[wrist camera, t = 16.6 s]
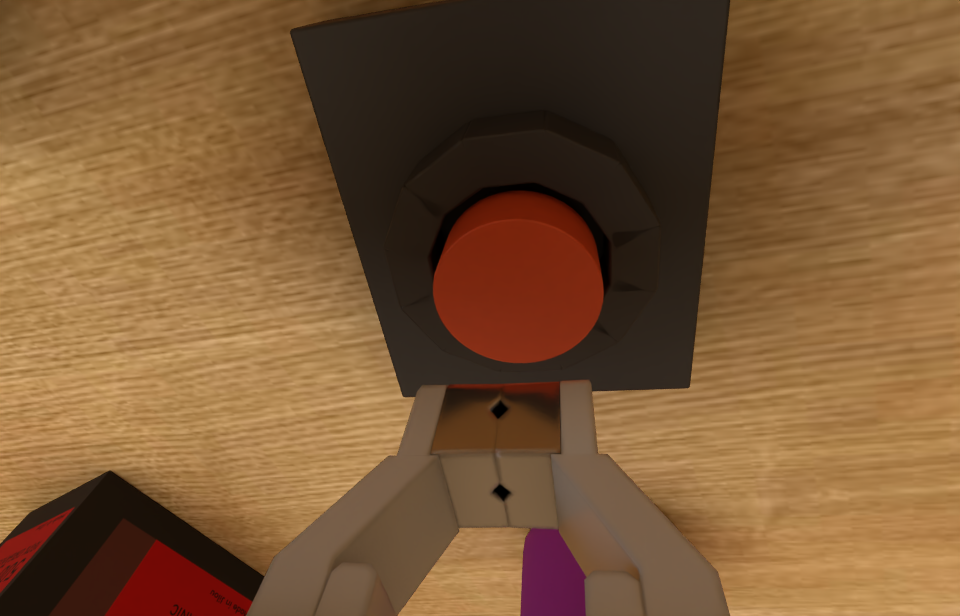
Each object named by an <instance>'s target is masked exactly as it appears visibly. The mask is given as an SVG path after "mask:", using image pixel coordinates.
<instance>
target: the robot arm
mask: <svg viewBox="0 0 960 616" xmlns="http://www.w3.org/2000/svg"><path fill="white" fill-rule="evenodd" d="M489 527H512V528H534V529H557V530H559V533H560V535H561V536H562V538H563V540H564V541H565V543H566V544H567V546H568V548H569V549H570V551H571V553H572V554H573V556H574V558H575V559H576V561H577V563H578V564H579V566H580V567H581V569H582V571H583V572H584V574H585V576H586V577H587V578H586V579H585V580H584V583H585V608H586V616H730V613H729V610H728V606H727V603H726V599H725V596H724V592H723V588H722V585H721V581H720V578H719V574H718V571H717V570H716V569H715V568H714V567H713V566H712V565H711V564H710V563H709V562H708V561H707V560H706V559H705V558H704V557H703V555H702V554H701V553H700V552H699V551H698V550H697V549H696V548H695V547H694V546H693V545H692V544H691V543H690V542H689V541H688V539H687V538H686V537H685V536H684V535H683V534H682V533H681V532H680V531H679V530H678V529H677V528H676V527H675V526H674V525H673V523H672V522H671V521H670V520H669V519H668V518H667V517H666V516H665V515H664V514H663V513H662V512H661V511H660V510H659V509H658V507H657V506H656V505H655V504H654V503H653V502H652V501H651V500H650V499H649V498H648V497H647V496H646V495H645V494H644V492H643V491H642V490H641V489H640V488H639V487H638V486H637V485H636V484H635V483H634V482H633V481H632V480H631V479H630V478H629V476H628V475H627V474H626V473H625V472H624V471H623V470H622V469H621V468H620V467H619V466H618V465H617V464H616V463H615V462H614V460H613V459H612V458H611V457H610V456H609V455H608V454H598V448H597V438H596V428H595V418H594V408H593V398H592V388H591V382H590V381H589V380H570V381H559V382H534V383H509V384H449V385H422V386H421V387H420V389H419V390H418V391H417V394H416V397H415V400H414V403H413V406H412V409H411V413H410V416H409V419H408V422H407V425H406V428H405V431H404V435H403V438H402V441H401V444H400V447H399V450H398V453H397V456H388V457H387V458H385V459H384V460H383V461H382V462H381V463H380V464H379V465H378V466H376V467H375V468H374V469H373V470H372V471H371V472H370V473H369V474H367V475H366V476H365V477H364V478H363V479H362V480H361V481H359V482H358V483H357V484H356V485H355V486H354V487H353V488H352V489H350V490H349V491H348V492H347V493H346V494H345V495H344V496H343V497H341V498H340V499H339V500H338V501H337V502H336V503H335V504H333V505H332V506H331V507H330V508H329V509H328V510H327V511H326V512H324V513H323V514H322V515H321V516H320V517H319V518H318V519H316V520H315V521H314V522H313V523H312V524H311V525H310V526H309V527H307V528H306V529H305V530H304V531H303V532H302V533H301V534H300V535H298V536H297V537H296V538H295V539H294V540H293V541H292V542H290V543H289V544H288V545H287V546H286V547H285V548H284V549H283V550H281V551H280V552H279V553H278V554H277V555H276V556H275V557H274V558H273V560H272V562H271V564H270V566H269V569H268V571H267V573H266V575H265V577H264V579H263V581H262V583H261V585H260V587H259V590H258V592H257V594H256V596H255V598H254V600H253V602H252V604H251V606H250V609H249V611H248V613H247V615H246V616H397V615H398V614H399V612H400V611H401V610H402V608H403V607H404V606H405V604H406V603H407V601H408V600H409V599H410V597H411V596H412V595H413V593H414V592H415V591H416V589H417V588H418V586H419V585H420V584H421V582H422V581H423V580H424V578H425V577H426V575H427V574H428V573H429V571H430V570H431V569H432V567H433V566H434V565H435V563H436V562H437V560H438V559H439V558H440V556H441V555H442V554H443V552H444V551H445V550H446V548H447V547H448V545H449V544H450V543H451V541H452V540H453V539H454V537H455V536H456V535H457V533H458V532H459V529H458V528H489Z"/></svg>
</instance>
